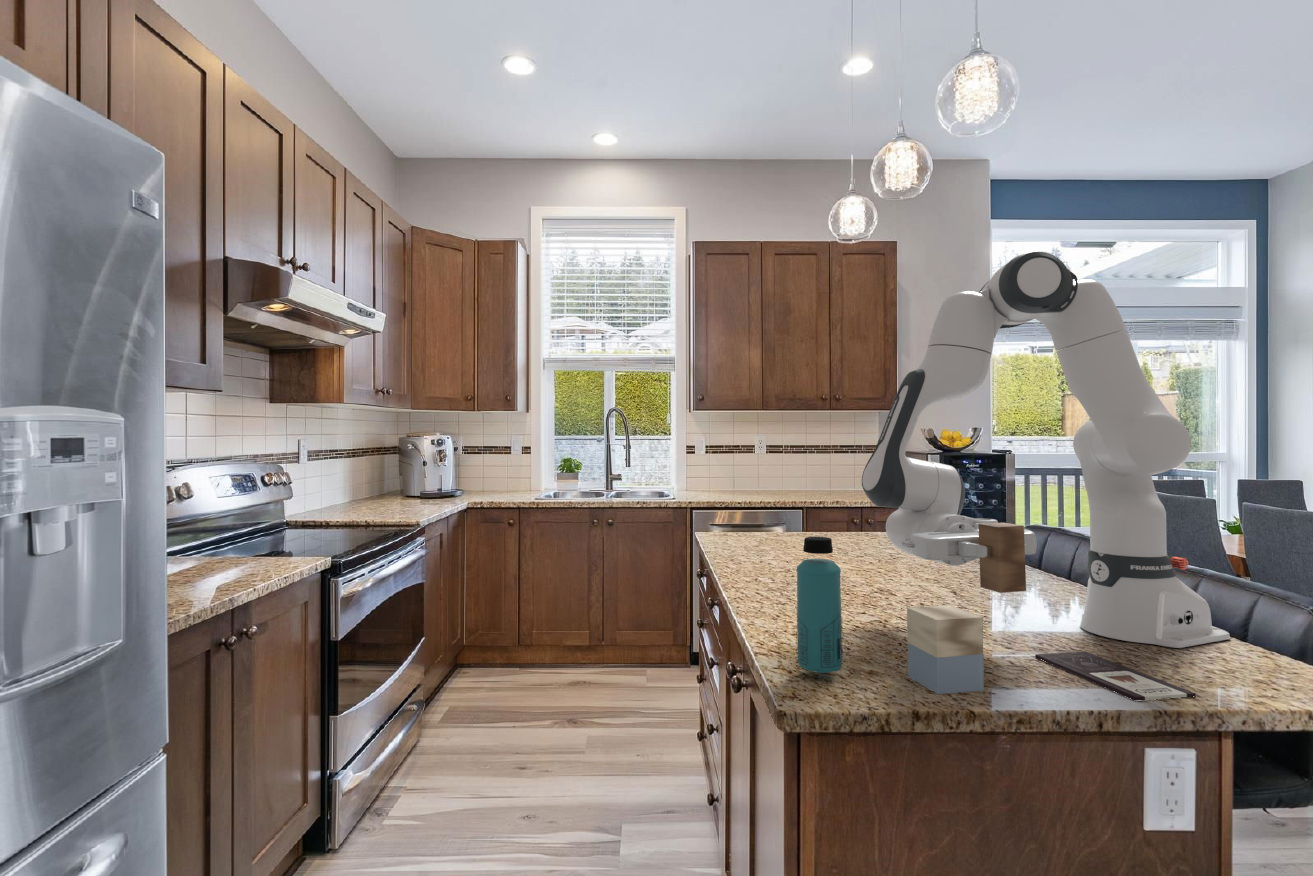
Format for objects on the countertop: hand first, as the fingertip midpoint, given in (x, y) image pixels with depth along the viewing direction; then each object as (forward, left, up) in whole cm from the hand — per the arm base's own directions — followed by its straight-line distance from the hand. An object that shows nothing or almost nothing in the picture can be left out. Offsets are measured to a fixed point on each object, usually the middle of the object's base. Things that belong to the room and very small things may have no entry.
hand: (1005, 550), depth 102 cm
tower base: (+15, +7, -17) cm, 24 cm away
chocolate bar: (-10, +9, -18) cm, 22 cm away
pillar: (0, -1, -6) cm, 6 cm away
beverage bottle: (+31, +1, -17) cm, 36 cm away
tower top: (+15, +7, -12) cm, 21 cm away
